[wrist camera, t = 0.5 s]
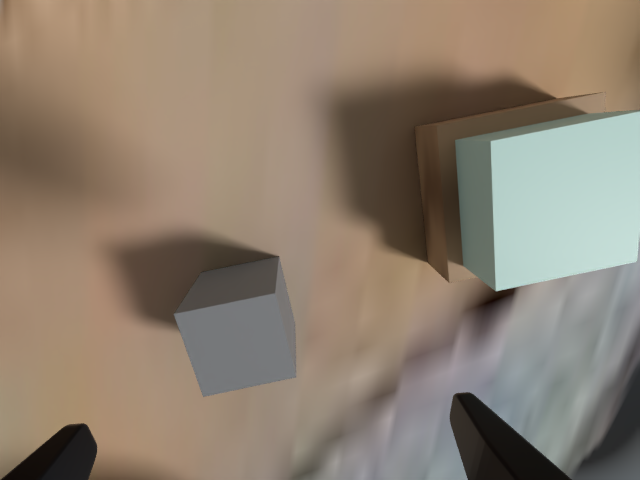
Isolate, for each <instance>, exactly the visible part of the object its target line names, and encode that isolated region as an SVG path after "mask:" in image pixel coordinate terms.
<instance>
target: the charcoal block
mask: <svg viewBox="0 0 640 480" xmlns="http://www.w3.org/2000/svg"><path fill="white" fill-rule="evenodd" d="M174 316H175V319H176V322H177V325H178V327H179V330H180V333H181V336H182V339H183V341H184V344H185V347H186V350H187V353H188V355H189V358H190V361H191V364H192V367H193V369H194V372H195V375H196V378H197V381H198V383H199V386H200V389H201V392H202V395H203V397H205V396H209V395H214V394H219V393H224V392H228V391H233V390H238V389H243V388H247V387H252V386H257V385H261V384H266V383H271V382H276V381H280V380H285V379H290V378H295V377H296V337H295V321H294V317H293V313H292V309H291V304H290V300H289V296H288V292H287V288H286V283H285V279H284V275H283V271H282V267H281V262H280V258H279V256H278V257H273V258H269V259H264V260H259V261H254V262H249V263H244V264H239V265H234V266H229V267H225V268H220V269H215V270H210V271H205V272H201V274H200V275H199V277H198V278H197V280H196V281H195V283H194V284H193V286H192V287H191V289H190V290H189V292H188V293H187V295H186V296H185V298H184V299H183V301H182V302H181V304H180V305H179V307H178V308H177V310H176V312H175V313H174Z"/></svg>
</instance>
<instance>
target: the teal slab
mask: <svg viewBox="0 0 640 480" xmlns="http://www.w3.org/2000/svg"><path fill="white" fill-rule="evenodd" d="M455 146H456V162H457V177H458V193H459V208H460V223H461V239H462V254H463V266H464V267H465V268H466V269H468V270H469V271H470V272H472V273H473V274H474V275H475V276H477V277H478V278H479V279H481V280H482V281H483V282H485V283H486V284H487V285H489V286H490V287H491V288H492V289H494V290H495V291H499V290H504V289H508V288H513V287H518V286H523V285H528V284H532V283H537V282H542V281H547V280H552V279H556V278H561V277H566V276H571V275H575V274H580V273H585V272H590V271H595V270H599V269H604V268H609V267H614V266H619V265H623V264H628V263H633V262H637V256H638V246H639V236H640V110H630V111H616V112H602V113H588V114H583V115H578V116H573V117H568V118H563V119H558V120H553V121H548V122H543V123H538V124H533V125H528V126H523V127H518V128H513V129H508V130H503V131H498V132H493V133H488V134H483V135H477V136H472V137H467V138H462V139H457V140H455Z"/></svg>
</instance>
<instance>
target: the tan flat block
mask: <svg viewBox="0 0 640 480" xmlns="http://www.w3.org/2000/svg"><path fill="white" fill-rule="evenodd" d="M605 99H606V92H602V93H594V94H587V95H579V96H572V97H565V98H557V99H552V100H547V101H542V102H537V103H532V104H527V105H522V106H517V107H512V108H507V109H502V110H497V111H492V112H487V113H482V114H477V115H471V116H466V117H461V118H456V119H451V120H446V121H441V122H436V123H431V124H426V125H421V126H416V127H415V137H416V147H417V157H418V167H419V178H420V188H421V198H422V208H423V218H424V228H425V239H426V249H427V259H428V263H429V264H430V265H431V266H432V267H433V268H434V269H435V270H436V271H437V272H438V273H439V274H440V275H441V276H442V277H443V278H445V279H446V280H447V281H448V282H449V283H452V282H457V281H462V280H467V279H471V278H476V277H477V276H475V275H474V274H473V273H472V272H470V271H469V270H468V269H466V268H465V267H464V266H463V254H462V239H461V223H460V208H459V193H458V177H457V162H456V146H455V140H457V139H462V138H467V137H472V136H477V135H483V134H488V133H493V132H498V131H503V130H508V129H513V128H518V127H523V126H528V125H533V124H538V123H543V122H548V121H553V120H558V119H563V118H568V117H573V116H578V115H583V114H588V113H602V112H605Z"/></svg>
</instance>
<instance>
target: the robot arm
mask: <svg viewBox="0 0 640 480" xmlns="http://www.w3.org/2000/svg"><path fill="white" fill-rule="evenodd" d="M450 423H451V427H452V430H453V433H454V437H455V440H456V443H457V446H458V449H459V453H460V456H461V459H462V462H463V466H464V469H465V472H466V475H467V478H468V480H572V479H571V478H569V477H568V476H567V475H566V474H565V473H564V472H562V471H561V470H560V469H559V468H558V467H557V466H556V465H554V464H553V463H552V462H551V461H550V460H549V459H547V458H546V457H545V456H544V455H543V454H542V453H541V452H539V451H538V450H537V449H536V448H535V447H534V446H532V445H531V444H530V443H529V442H528V441H527V440H526V439H524V438H523V437H522V436H521V435H520V434H519V433H517V432H516V431H515V430H514V429H513V428H512V427H511V426H509V425H508V424H507V423H506V422H505V421H504V420H502V419H501V418H500V417H499V416H498V415H497V414H496V413H494V412H493V411H492V410H491V409H490V408H489V407H487V406H486V405H485V404H484V403H483V402H482V401H481V400H479V399H478V398H477V397H476V396H475V395H474V394H472V393H469V392H466V393H456V394H455V395H454V396H453V400H452V406H451V411H450ZM96 454H97V444H96V442H95V440H94V438H93V435H92V433H91V431H90V429H89V427H88V426H87V425H86V424H84V423H81V424H70V425H67V426H65V427H63V428H62V429H61V430H59V431H58V432H57V433H56V434H55V435H53V436H52V437H51V438H50V439H49V440H47V441H46V442H45V443H44V444H43V445H42V446H40V447H39V448H38V449H37V450H36V451H34V452H33V453H32V454H31V455H30V456H28V457H27V458H26V459H25V460H24V461H22V462H21V463H20V464H19V465H18V466H16V467H15V468H14V469H13V470H12V471H10V472H9V473H8V474H7V475H6V476H5V477H3V478H2V479H1V480H88V479H89V476H90V473H91V470H92V467H93V464H94V461H95V458H96Z"/></svg>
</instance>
